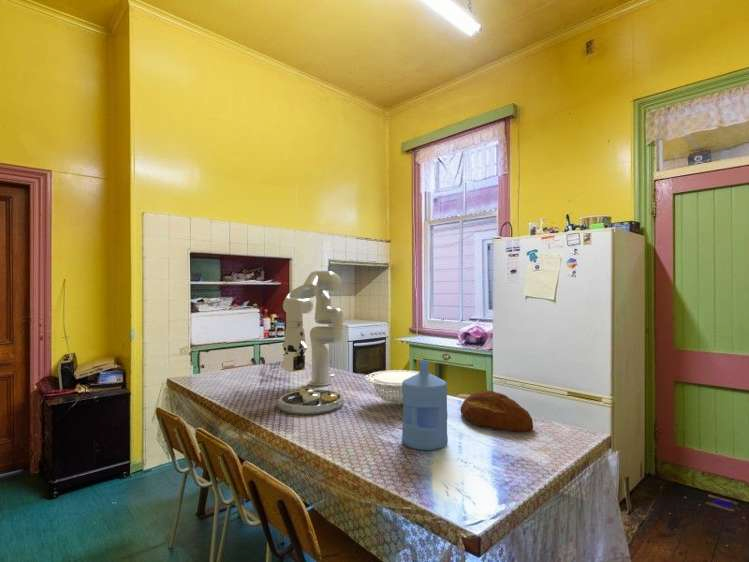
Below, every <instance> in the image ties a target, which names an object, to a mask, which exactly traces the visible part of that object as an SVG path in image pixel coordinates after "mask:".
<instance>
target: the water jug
mask: <svg viewBox="0 0 749 562" xmlns="http://www.w3.org/2000/svg"><path fill="white" fill-rule="evenodd" d="M429 363H430V361H429V360H419V364H420V365H419V371H418V372H419V374H416V375H414V376H412V377H410V378H408V379H405V380H404V381H403V382H402V395H401V397H402V401H403V418H402V433H401V434H402V435H401V440H402V443H403V444H404V445H405V446H407V447H408V448H410V449H413V450H417V451H418V450H419V451H436V450H439V449H442V448H444V447H445V446H447V444H448V441H449V439H448V438H449V437H448V383H447V382H446V381H445V380H444V379H442V378H440V377H438V376H436V375H434V374H432V373H430V366H429Z"/></svg>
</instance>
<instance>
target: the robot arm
mask: <svg viewBox="0 0 749 562" xmlns="http://www.w3.org/2000/svg"><path fill="white" fill-rule="evenodd" d="M342 286H343V285H342V279H341V277H340V276H339V275H338V274H337V273H335V272H333V271H330V270H314V271H311V272H310V273H309V275H308V277H306V279H305V281H304V283H303V284H302V285H299V286H297V287H296V288H294V289H292V290H291V291H289V292H288V294H287V295H286V296H285V299H284V300H283V304H282V308H283V310H284V312H285V313H286V315H285V317H286V319H285V320H286V321H285V323H286V325H285V326H286V327H285V333H284V341H283V343H282V345H281V346H282V348H283V351H284V355H286V354H288V345H292V346H294V349H295V350H297V353H298V356H297V364H303V355H305V353H306V351H307V349H308V346H307V345H306V333H305V329H304V327H303V325H304V324H303V322H304V321H303V318H304V317H303V314H309V313H310V312H312V310H313V308H314V303H313V301H312V300H311V298H314V297H315V302H316V303H315V309H314V310H315V311H314V312H315V313H314V322H315V324H317V325H316V326H313V327H312V328H311V329H310V331H309V340H310V344H311V345H310V346H311V380H309V382H308V385H309V386H314V387H325V386H329V385H332V383H333V381H332V380H331V379H334V378H335V373H333V374H330V351H329V349H328V347H327V345H337V344H340V342H341V341H342V336H343V335H342V334H343V323H344V314H343V311H342V309H341V308H340V307H339V308H338V307H332V298H331V296H330V295H329V293H328V292H337V291H340V289H341V288H342ZM318 325H323V326H318ZM324 325H329V326H324ZM331 325H333V326H331ZM299 350H300V351H299Z"/></svg>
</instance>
